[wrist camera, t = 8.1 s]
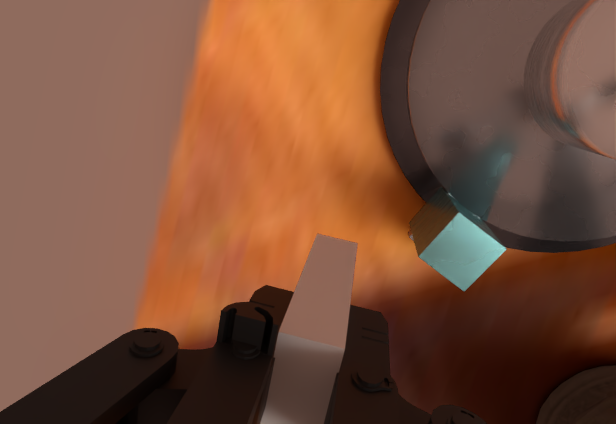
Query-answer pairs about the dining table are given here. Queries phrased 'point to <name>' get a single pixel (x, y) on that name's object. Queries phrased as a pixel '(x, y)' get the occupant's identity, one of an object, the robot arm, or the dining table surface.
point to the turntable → (493, 141)
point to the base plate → (403, 137)
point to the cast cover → (576, 76)
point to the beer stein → (583, 399)
